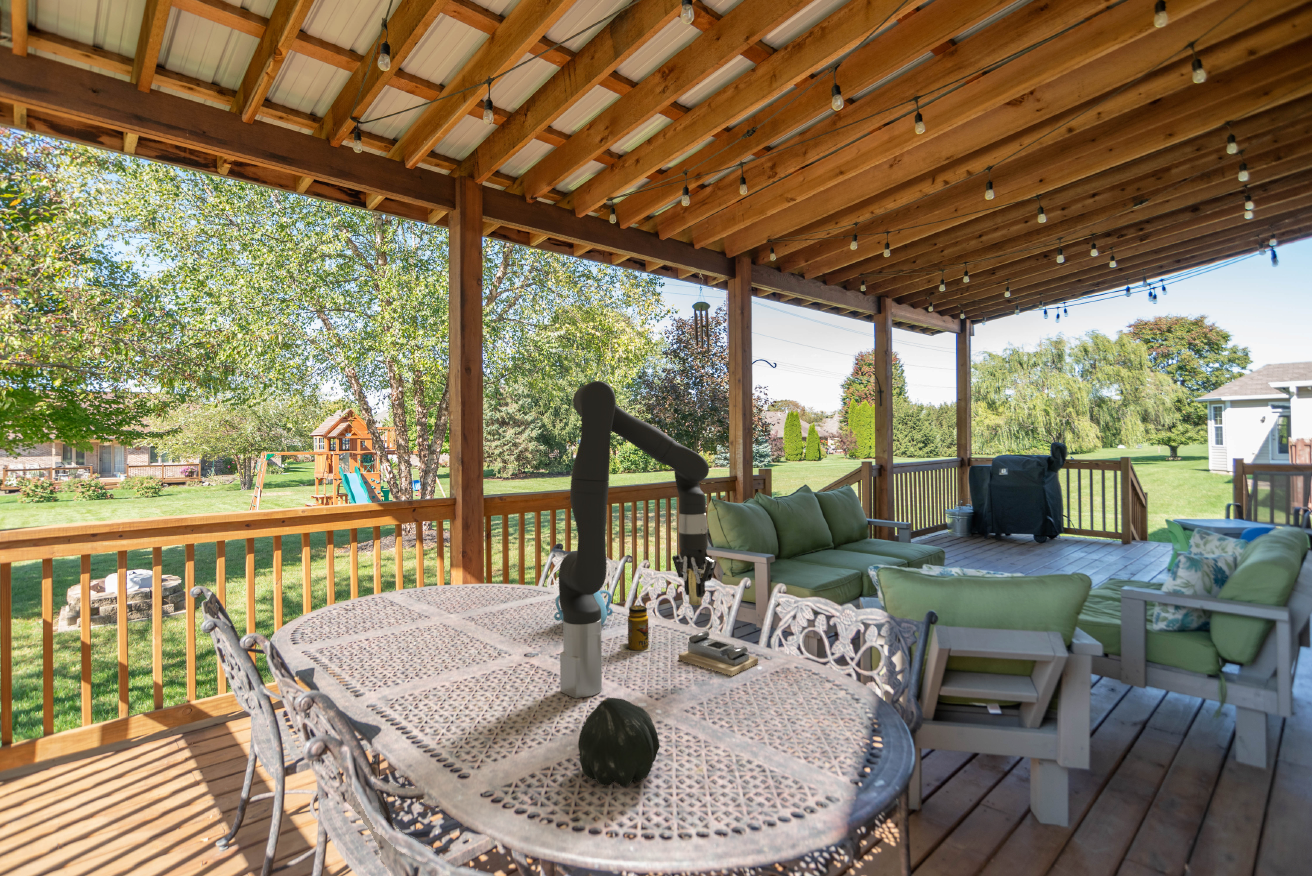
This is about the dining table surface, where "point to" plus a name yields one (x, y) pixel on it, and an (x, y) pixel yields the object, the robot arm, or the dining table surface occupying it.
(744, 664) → the clamp block fixture
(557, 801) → the dining table surface
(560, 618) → the decorative pot
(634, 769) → the squash
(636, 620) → the condiment
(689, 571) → the brass pin
